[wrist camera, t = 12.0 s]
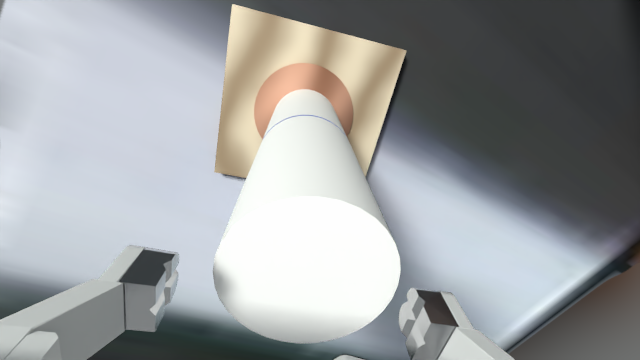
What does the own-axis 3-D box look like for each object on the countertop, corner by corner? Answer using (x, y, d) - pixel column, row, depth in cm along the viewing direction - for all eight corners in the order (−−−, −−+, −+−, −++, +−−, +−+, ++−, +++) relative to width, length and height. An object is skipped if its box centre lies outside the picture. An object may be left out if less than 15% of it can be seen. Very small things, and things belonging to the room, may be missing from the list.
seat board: (402, 50, 33) (407, 50, 32) (356, 194, 41) (358, 200, 39) (235, 5, 31) (231, 3, 29) (217, 167, 38) (214, 172, 37)
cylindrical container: (328, 81, 33) (385, 173, 10) (342, 143, 36) (411, 322, 13) (264, 98, 33) (180, 223, 11) (283, 158, 36) (250, 358, 13)
